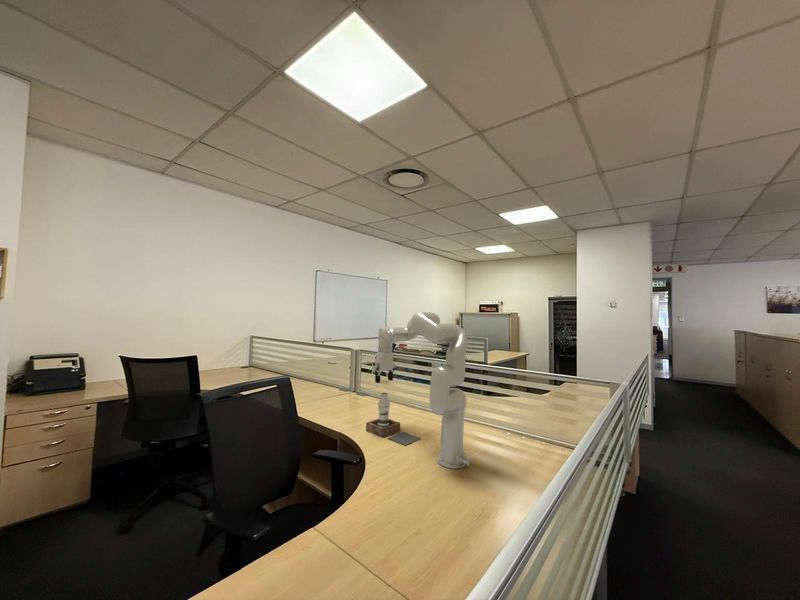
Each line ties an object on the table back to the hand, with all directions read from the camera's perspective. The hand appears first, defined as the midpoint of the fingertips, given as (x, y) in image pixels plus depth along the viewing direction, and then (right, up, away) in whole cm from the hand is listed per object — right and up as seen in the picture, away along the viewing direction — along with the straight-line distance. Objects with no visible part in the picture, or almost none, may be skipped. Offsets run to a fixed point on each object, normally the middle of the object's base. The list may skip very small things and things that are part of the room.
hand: (384, 381), depth 175 cm
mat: (+11, -27, -11) cm, 31 cm away
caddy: (0, -27, -1) cm, 27 cm away
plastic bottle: (0, -27, -1) cm, 27 cm away
